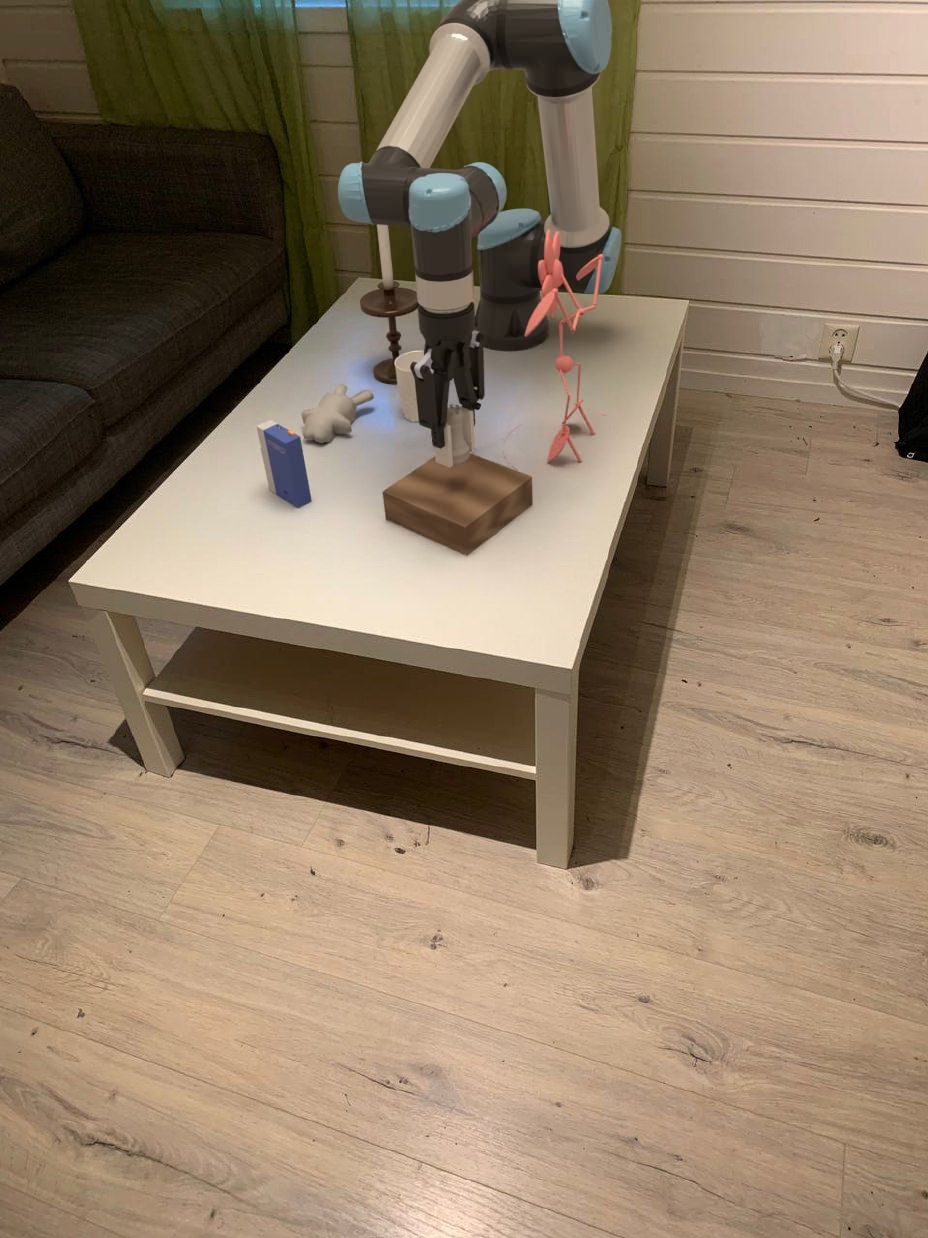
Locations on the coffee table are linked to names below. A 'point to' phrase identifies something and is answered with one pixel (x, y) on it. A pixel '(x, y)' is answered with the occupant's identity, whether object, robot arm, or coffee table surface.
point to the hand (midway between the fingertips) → (455, 455)
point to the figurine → (561, 324)
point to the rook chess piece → (457, 434)
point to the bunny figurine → (333, 414)
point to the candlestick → (388, 307)
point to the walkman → (284, 463)
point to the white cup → (407, 383)
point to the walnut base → (458, 501)
